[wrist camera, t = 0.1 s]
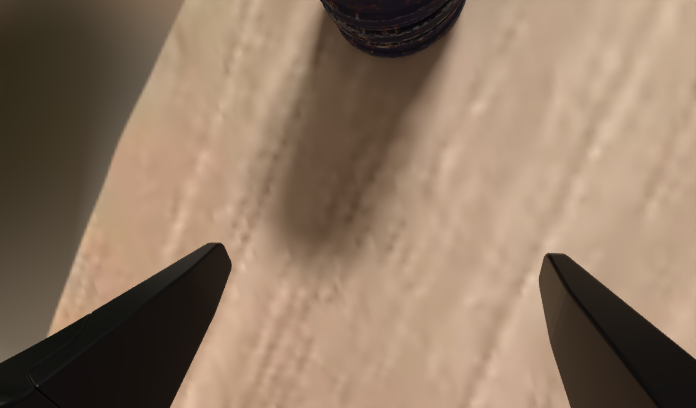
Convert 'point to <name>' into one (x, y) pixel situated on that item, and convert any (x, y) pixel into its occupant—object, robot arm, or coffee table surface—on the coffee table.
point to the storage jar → (393, 23)
